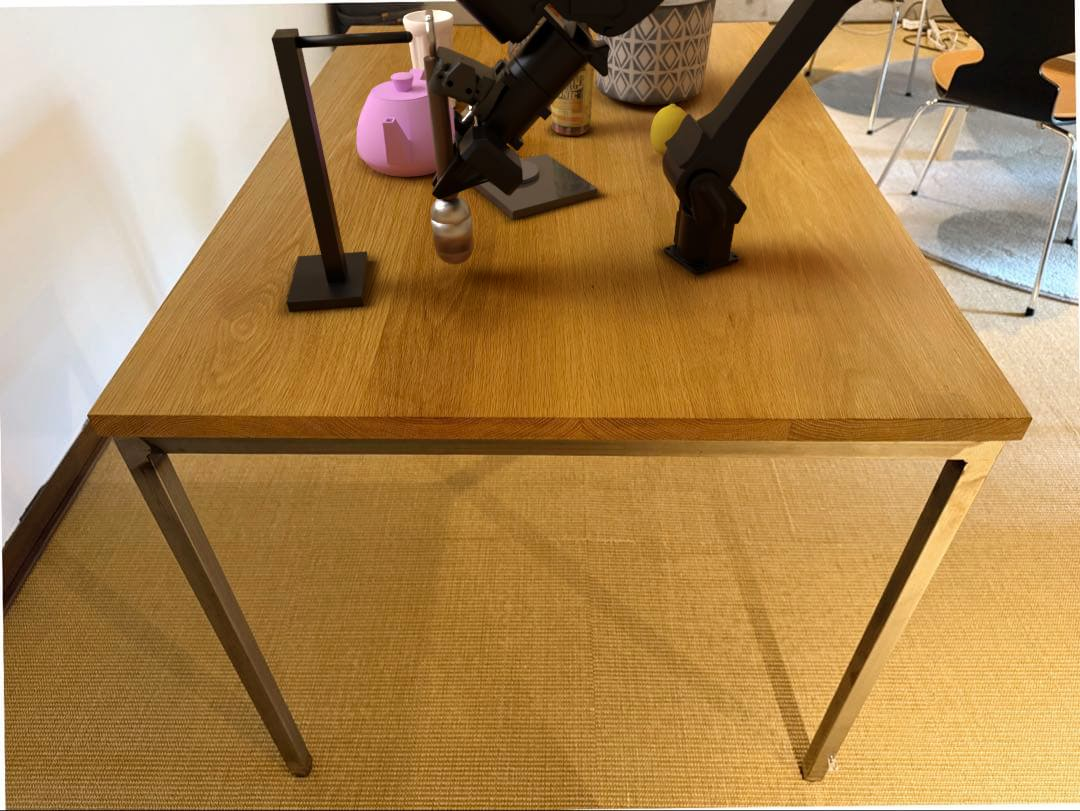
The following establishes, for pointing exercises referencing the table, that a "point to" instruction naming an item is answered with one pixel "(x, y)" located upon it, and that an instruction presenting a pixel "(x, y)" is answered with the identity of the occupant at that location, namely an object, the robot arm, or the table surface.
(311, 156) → the hanger
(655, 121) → the lemon
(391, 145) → the teapot
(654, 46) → the planter
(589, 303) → the table surface
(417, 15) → the cup
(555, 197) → the hob
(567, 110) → the sauce bottle
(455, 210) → the silver tipped brown rod
